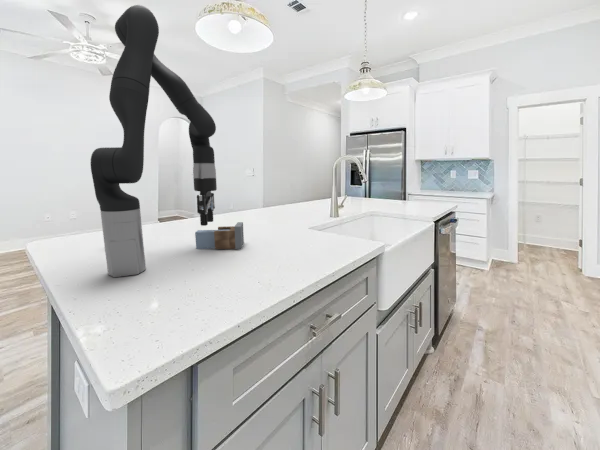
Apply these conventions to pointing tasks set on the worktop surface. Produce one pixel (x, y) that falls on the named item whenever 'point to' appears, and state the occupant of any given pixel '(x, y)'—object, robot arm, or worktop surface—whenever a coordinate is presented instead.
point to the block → (225, 238)
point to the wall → (239, 235)
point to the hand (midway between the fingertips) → (207, 223)
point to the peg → (205, 239)
